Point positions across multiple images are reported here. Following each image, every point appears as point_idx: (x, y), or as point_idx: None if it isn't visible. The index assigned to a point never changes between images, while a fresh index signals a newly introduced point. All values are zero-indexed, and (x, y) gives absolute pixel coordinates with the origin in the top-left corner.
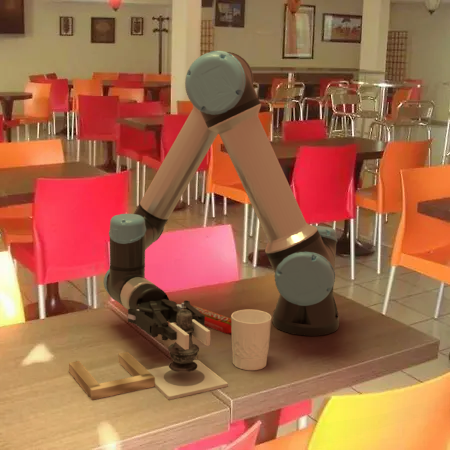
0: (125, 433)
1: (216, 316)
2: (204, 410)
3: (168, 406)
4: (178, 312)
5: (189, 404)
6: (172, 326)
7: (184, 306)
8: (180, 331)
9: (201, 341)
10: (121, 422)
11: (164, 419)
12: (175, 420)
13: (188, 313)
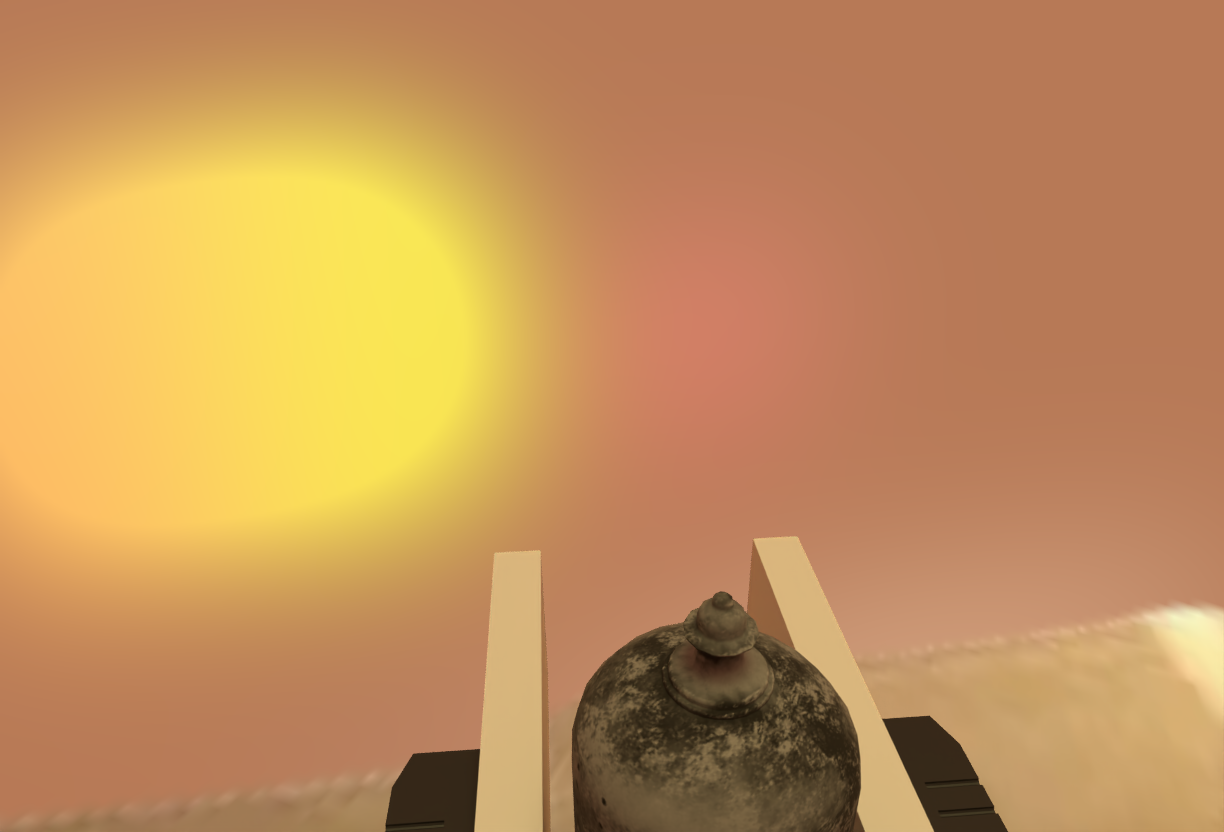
0: (1135, 656)
1: None
2: None
3: None
4: (835, 714)
5: None
6: (920, 818)
7: (729, 598)
8: (831, 618)
9: (548, 753)
10: (1189, 748)
11: (927, 702)
12: (866, 678)
13: (669, 629)
